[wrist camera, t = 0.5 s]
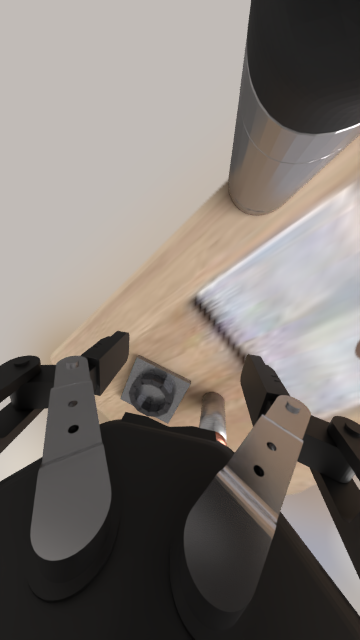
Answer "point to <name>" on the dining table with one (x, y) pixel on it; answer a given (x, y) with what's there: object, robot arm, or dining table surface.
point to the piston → (214, 415)
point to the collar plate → (154, 389)
